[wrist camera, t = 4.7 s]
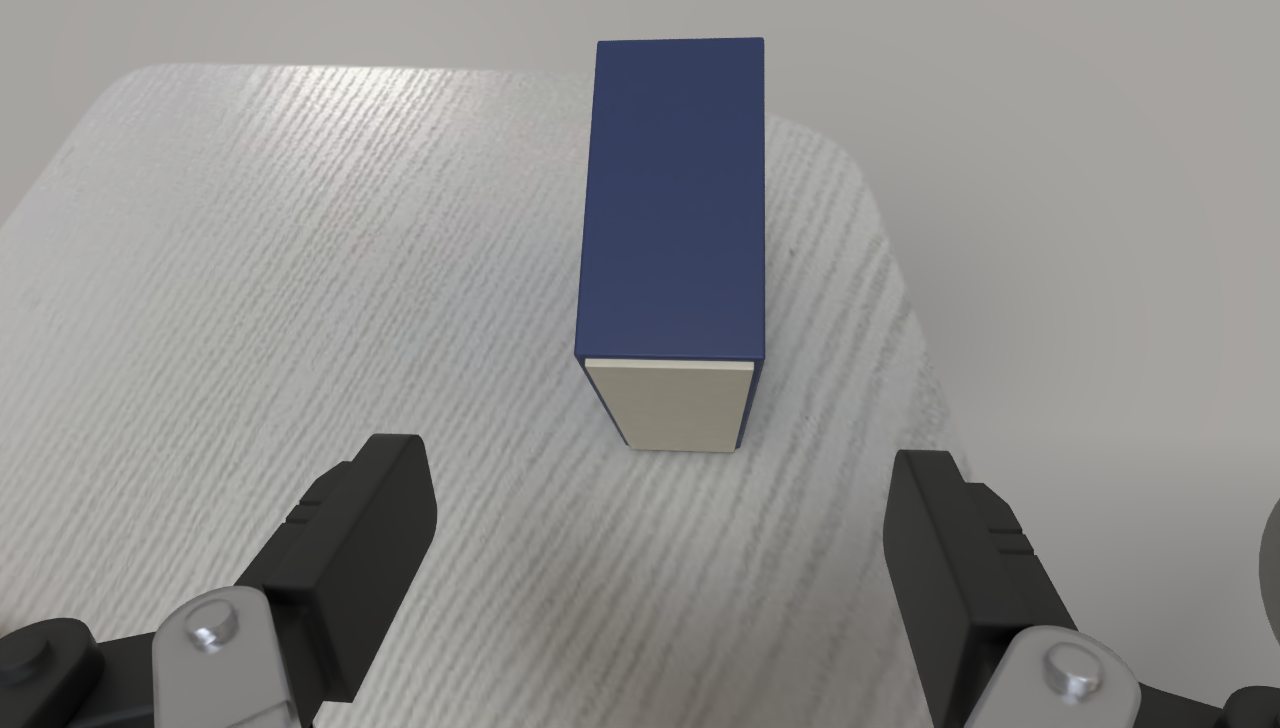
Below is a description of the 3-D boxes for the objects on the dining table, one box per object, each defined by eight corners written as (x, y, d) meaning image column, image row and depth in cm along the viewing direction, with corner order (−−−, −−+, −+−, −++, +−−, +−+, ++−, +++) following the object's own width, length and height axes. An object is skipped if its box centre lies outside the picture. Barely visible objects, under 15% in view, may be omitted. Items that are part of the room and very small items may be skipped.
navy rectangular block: (741, 238, 31) (764, 35, 19) (740, 453, 28) (765, 367, 17) (636, 238, 31) (596, 39, 20) (625, 450, 28) (573, 364, 17)
